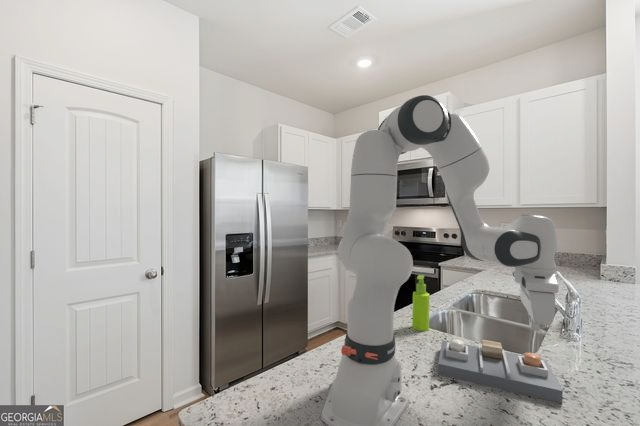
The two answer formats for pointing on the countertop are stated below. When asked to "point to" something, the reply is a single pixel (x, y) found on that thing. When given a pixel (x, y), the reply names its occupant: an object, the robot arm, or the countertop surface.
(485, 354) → the slider knob
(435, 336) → the countertop surface
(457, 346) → the white button
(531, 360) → the terracotta button
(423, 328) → the soap dispenser
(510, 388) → the control panel
